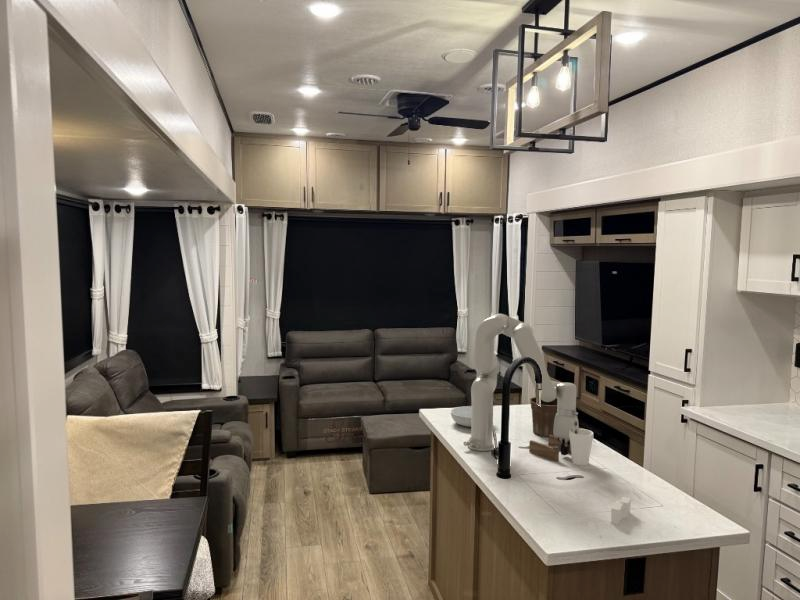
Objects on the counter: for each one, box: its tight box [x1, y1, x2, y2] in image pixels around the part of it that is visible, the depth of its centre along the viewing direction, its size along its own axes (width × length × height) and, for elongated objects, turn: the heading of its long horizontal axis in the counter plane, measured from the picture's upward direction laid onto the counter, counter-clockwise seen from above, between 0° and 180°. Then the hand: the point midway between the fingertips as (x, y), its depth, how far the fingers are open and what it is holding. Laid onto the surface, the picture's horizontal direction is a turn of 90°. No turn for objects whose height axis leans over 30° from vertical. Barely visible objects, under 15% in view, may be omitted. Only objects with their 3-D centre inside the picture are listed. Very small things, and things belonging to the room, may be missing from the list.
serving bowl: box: [450, 405, 472, 428], centre depth 273 cm, size 21×21×7 cm
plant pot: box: [529, 396, 557, 438], centre depth 259 cm, size 16×16×16 cm
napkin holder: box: [610, 496, 632, 526], centre depth 172 cm, size 15×11×6 cm
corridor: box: [528, 435, 571, 463], centre depth 232 cm, size 15×14×6 cm
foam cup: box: [569, 428, 594, 467], centre depth 221 cm, size 10×9×13 cm
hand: (564, 454), depth 228 cm, fingers closed
